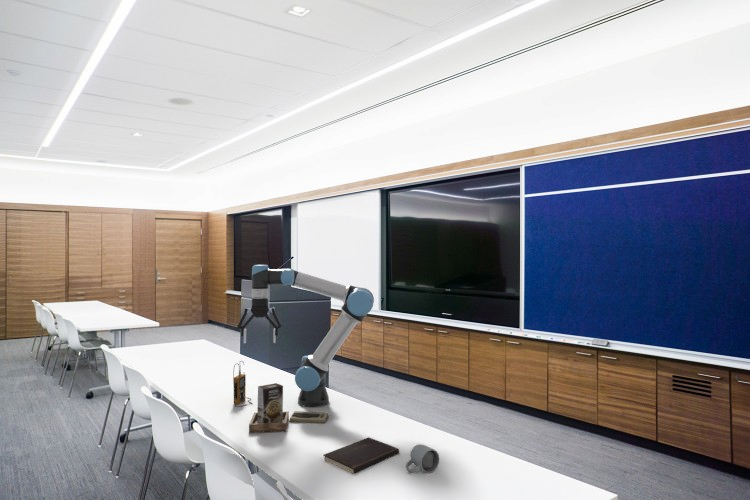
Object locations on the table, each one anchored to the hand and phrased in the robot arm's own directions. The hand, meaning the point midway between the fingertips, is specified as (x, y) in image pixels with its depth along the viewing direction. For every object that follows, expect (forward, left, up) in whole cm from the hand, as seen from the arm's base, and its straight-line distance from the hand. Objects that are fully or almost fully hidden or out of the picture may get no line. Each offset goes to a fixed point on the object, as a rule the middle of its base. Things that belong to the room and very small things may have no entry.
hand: (259, 342), depth 225 cm
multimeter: (+8, -13, -32) cm, 35 cm away
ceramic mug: (-63, +68, -32) cm, 98 cm away
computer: (-24, +15, -32) cm, 43 cm away
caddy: (-7, +21, -32) cm, 39 cm away
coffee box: (-7, +21, -31) cm, 38 cm away
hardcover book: (-44, +56, -32) cm, 78 cm away
